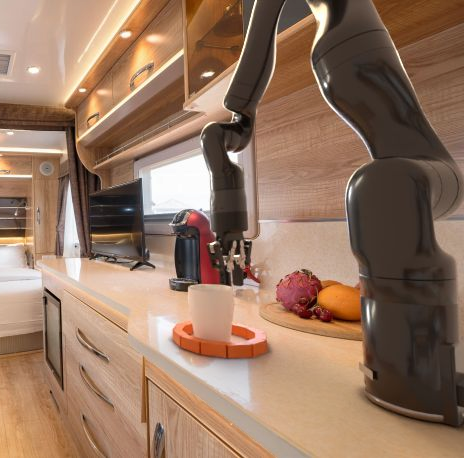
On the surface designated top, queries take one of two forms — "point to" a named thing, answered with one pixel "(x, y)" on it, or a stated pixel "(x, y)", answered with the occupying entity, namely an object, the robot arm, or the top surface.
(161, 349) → the top surface
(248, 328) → the ring
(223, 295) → the cup
